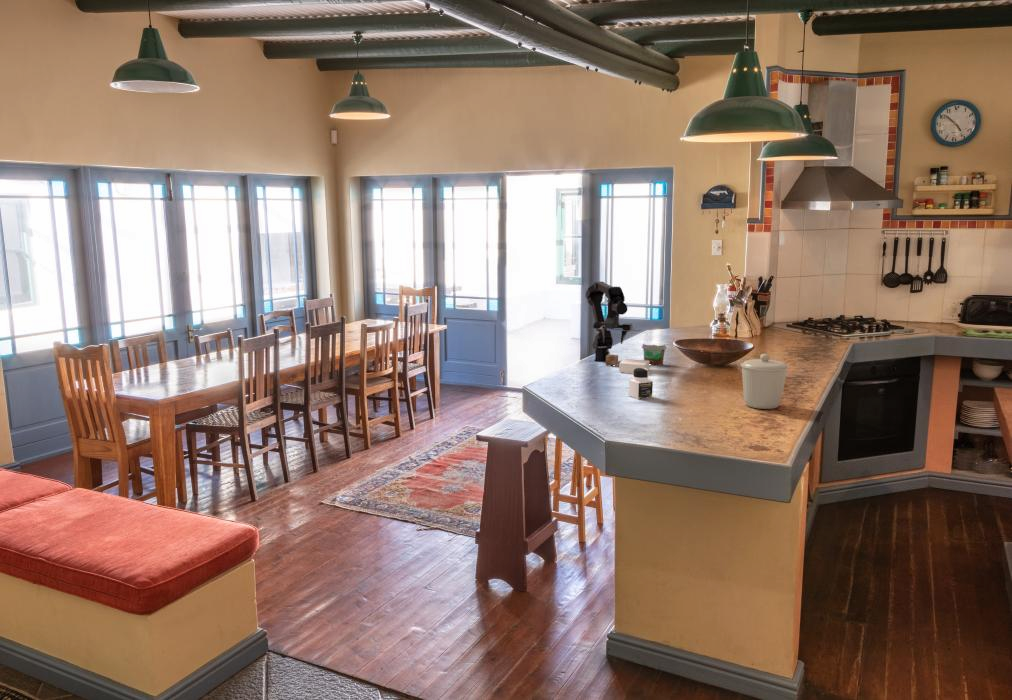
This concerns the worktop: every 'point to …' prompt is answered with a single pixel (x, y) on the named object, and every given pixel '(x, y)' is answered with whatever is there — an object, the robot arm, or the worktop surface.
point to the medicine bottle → (640, 384)
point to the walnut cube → (611, 359)
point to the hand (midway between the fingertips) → (612, 343)
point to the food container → (654, 353)
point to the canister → (763, 382)
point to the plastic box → (632, 365)
